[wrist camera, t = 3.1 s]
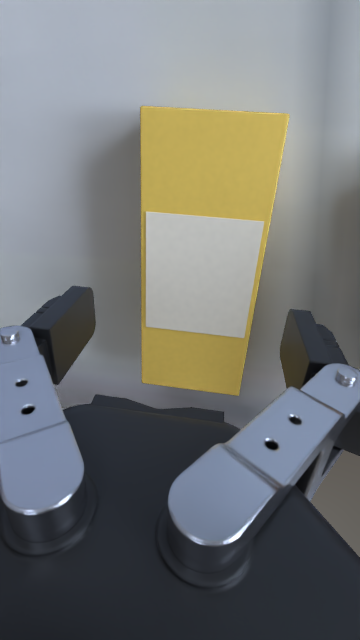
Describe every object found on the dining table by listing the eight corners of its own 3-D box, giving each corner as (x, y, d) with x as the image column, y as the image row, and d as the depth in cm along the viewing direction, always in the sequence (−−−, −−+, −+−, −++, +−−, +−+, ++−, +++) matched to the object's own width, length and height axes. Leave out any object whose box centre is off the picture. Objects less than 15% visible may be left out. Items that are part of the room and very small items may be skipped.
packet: (156, 110, 17) (139, 105, 14) (279, 117, 17) (290, 113, 13) (152, 352, 24) (141, 384, 21) (238, 363, 24) (238, 397, 21)
